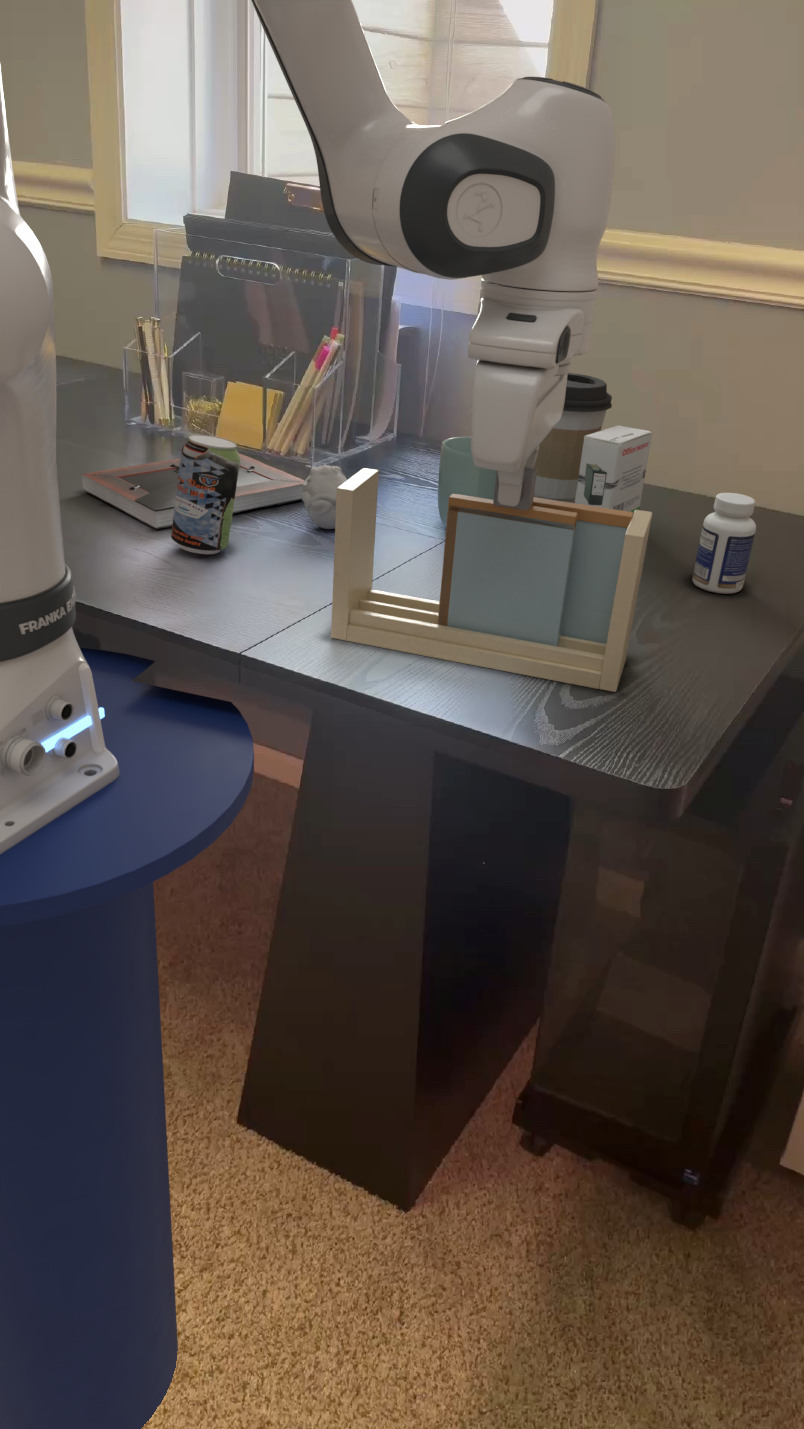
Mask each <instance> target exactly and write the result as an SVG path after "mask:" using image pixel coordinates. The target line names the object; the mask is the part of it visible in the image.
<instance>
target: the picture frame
mask: <svg viewBox="0 0 804 1429" xmlns="http://www.w3.org/2000/svg"><path fill="white" fill-rule="evenodd" d="M238 454H239V456H240V466H239V473H238V480H237V487H236V494H235V501H234V508H233V514H232V515H235V514H238V513H242V512H247V511H252V510H256V509H260V508H267V507H273V506H281V505H285V504H289V503H293V502H299V501H302V494H303V483H304V481H305V480H306V479H302V478H300V477H297V476H295V475H293V474H290V473H288V472H285V471H284V470H280V469H278V468H276V467H273V466H272V465H271V466H270V465H269V464H267V463H264V462H261V461H259V460H257V459H254V458H251V457H249V456H247V455H244V454H242V453H240V452H238ZM179 467H180V458H175V459H168V460H162V461H156V462H155V461H154V462H148V463H143V464H136V465H131V466H123V467H118V468H110V469H106V470H99V471H92V472H86V473H81V482H82V490H84V491H85V492H87V493H88V494H91V495H92V496H94V497H96V498H98V499H100V500H102V501H104V502H105V503H107V504H109V505H111V506H114V508H116V509H118V510H120V511H123V513H126V514H127V515H130V516H131V517H133V518H135V519H137V520H139V521H141V522H143V523H144V524H146V525H148V526H150V527H152V528H154V529H155V530H159V529H166V528H172V524H173V516H174V508H175V500H176V491H177V483H178V475H179Z"/></svg>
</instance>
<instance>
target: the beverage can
mask: <svg viewBox="0 0 804 1429" xmlns="http://www.w3.org/2000/svg"><path fill="white" fill-rule="evenodd" d="M237 447H238V446H237V443H235V442H234V441H232V440H229V439H226V438H223V437H219V436H216V435H215V436H214V435H207V434H190V435H189V436H188V440H187V442H186V443H185V444H184V445H183V446H182V447H181V451H180V458H179V459H180V467H179V475H178V483H177V491H176V500H175V508H174V516H173V524H172V526H171V533H170V537H171V539H172V541H174V543H176V544H177V547H179V548H180V549H182V550H184V551H186V552H190V553H193V554H199V555H215V554H216V555H217V554H218V553H220V552H221V551H222V550H225V549H227V548H228V546H229V542H230V534H231V528H232V522H233V521H232V520H233V515H234V514H233V508H234V501H235V494H236V487H237V480H238V473H239V466H240V456H239V454H238V453H239V451H238V449H237Z"/></svg>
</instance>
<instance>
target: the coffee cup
mask: <svg viewBox="0 0 804 1429" xmlns="http://www.w3.org/2000/svg"><path fill="white" fill-rule="evenodd" d="M607 385H608V383H606V382H605V380H603V379H600V378H598V377H595V376H592V375H591V376H590V375H586V374H582V373H581V374H580V373H575V372H574V373H573V372H568V375H567V385H566V393H565V402H564V408H563V412H562V416H561V418H560V420H559V421H558V423H557V424H556V425H555V426H554V427H553V429H552V430H551V431H550V432H549V434H548V435H547V436H546V437H545V438H544V440H543V441H542V442H541V443H540V445H539V450H538V454H537V458H536V461H535V465H534V468H533V469H537V475H536V482H535V490H534V497H537V498H543V499H550V500H556V501H563V502H569V503H575V498H576V491H577V484H578V477H579V471H580V464H581V457H582V450H583V443H584V436H586V435H589V434H592V433H595V432H599V431H602V428H603V424H604V421H605V417H606V414H607V413H606V412H607V411H608V410H610V409H611V408H612V406H613V404H612V400H613V396H612V395H611V394H610V393H609V392H607V388H608V386H607Z"/></svg>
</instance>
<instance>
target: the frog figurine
mask: <svg viewBox="0 0 804 1429" xmlns="http://www.w3.org/2000/svg"><path fill="white" fill-rule="evenodd" d="M309 472H310V473H309V475H308V476H307V477H306V478H305V479H304V480H305V481H304V483H303V494H302V500H301V501H302V502H303V503H304V508H305V511H306V512H307V515H308V516H309V518H310V520H311V521H312V522H313V523H314V524H315V525H316V526H317V527H319V528H321V529H324V530H335V523H336V497H337V488H338V487H339V486H340V485H342V484H343V483H344V482H346V481H347V480H348V479H347V477H346V475H345V474H344V473H343V472H342V468H341V467H340V466H338V465H330V464H327V465H326V464H323V465H320V466H318V467H315V466H314V467H311V469H310V471H309Z"/></svg>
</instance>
